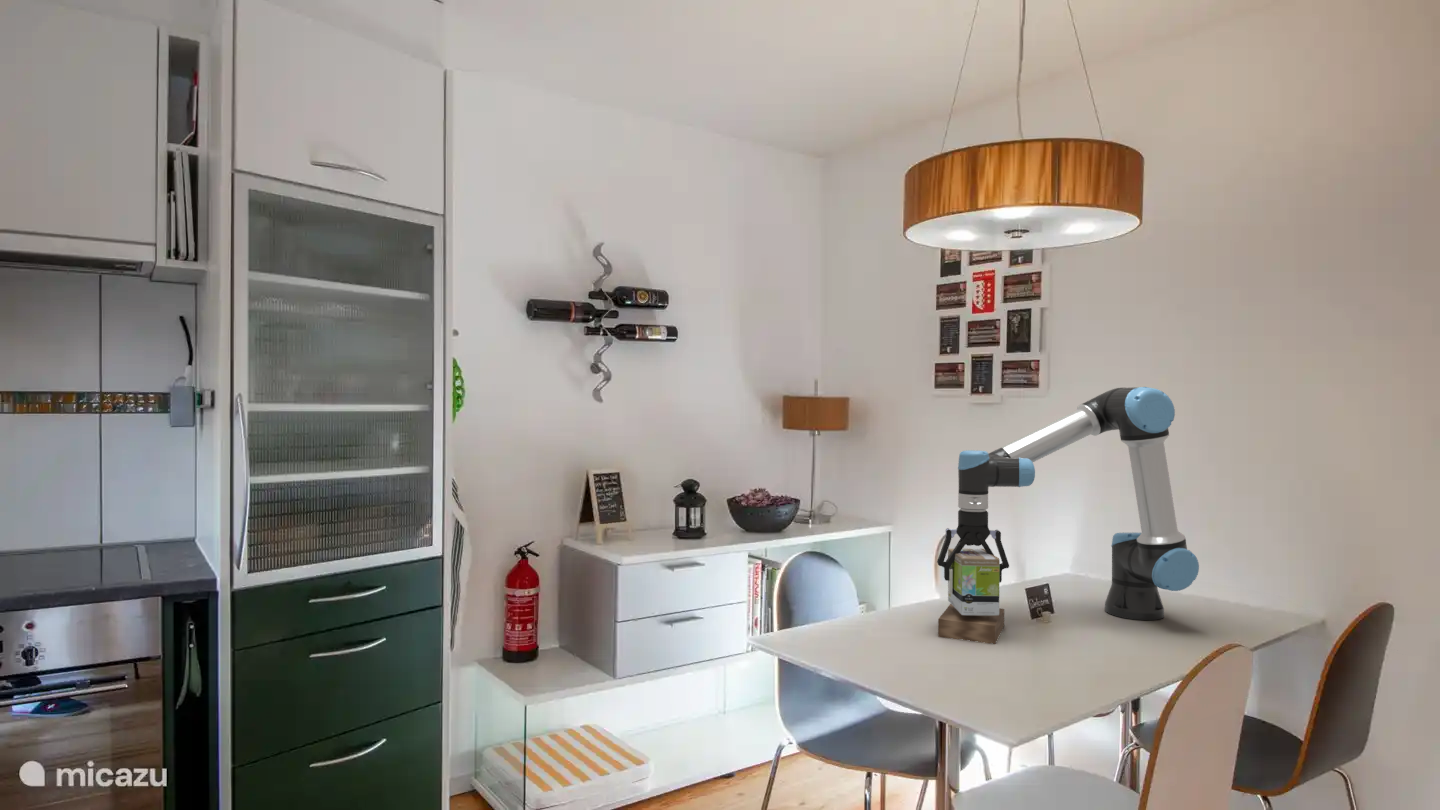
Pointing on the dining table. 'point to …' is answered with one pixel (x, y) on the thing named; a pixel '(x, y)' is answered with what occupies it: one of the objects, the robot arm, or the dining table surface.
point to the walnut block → (970, 626)
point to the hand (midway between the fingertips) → (972, 593)
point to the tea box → (975, 582)
